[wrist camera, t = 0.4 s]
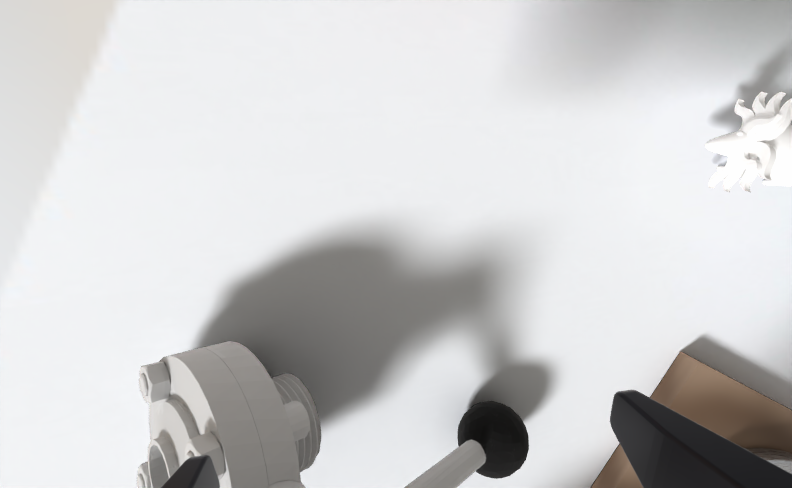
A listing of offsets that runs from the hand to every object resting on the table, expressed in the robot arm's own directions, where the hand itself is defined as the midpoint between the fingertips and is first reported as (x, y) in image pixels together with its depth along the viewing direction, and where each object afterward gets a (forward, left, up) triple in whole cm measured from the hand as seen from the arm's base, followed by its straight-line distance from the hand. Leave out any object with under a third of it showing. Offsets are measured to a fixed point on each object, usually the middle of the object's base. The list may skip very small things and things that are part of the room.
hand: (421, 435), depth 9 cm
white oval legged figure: (+16, -18, -15) cm, 29 cm away
